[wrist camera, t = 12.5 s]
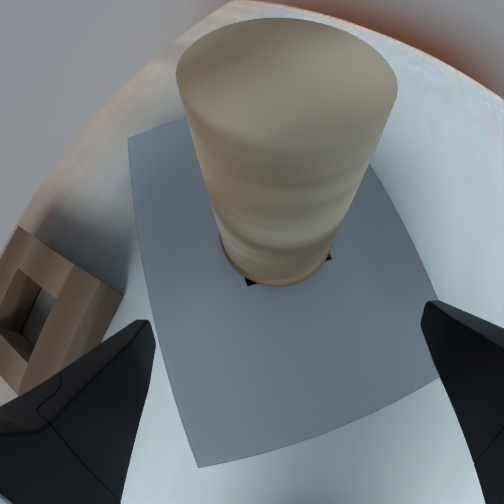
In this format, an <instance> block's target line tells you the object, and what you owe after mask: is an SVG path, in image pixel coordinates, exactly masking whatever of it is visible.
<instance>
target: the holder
mask: <svg viewBox="0 0 504 504" xmlns="http://www.w3.org/2000/svg"><path fill="white" fill-rule="evenodd" d="M41 287H42V288H43V289H44V290H45V291H46V292H48V293H49V294H50V295H51V296H53V297H54V298H55V299H56V300H55V303H54V305H53V307H52V309H51V311H50V313H49V315H48V317H47V319H46V322H45V324H44V326H43V328H42V331H41V333H40V335H39V338H38V340H37V342H36V345H35V347H33V346H32V345H31V344H30V343H29V342H28V341H27V340H26V339H25V338H24V337H23V336H22V335H21V334H20V332H21V329H22V327H23V325H24V322H25V320H26V318H27V316H28V313H29V311H30V309H31V307H32V304H33V302H34V300H35V298H36V296H37V294H38V292H39V290H40V288H41ZM123 297H124V295H122V294H120V293H119V292H117V291H116V290H114V289H113V288H111V287H109V286H108V285H106V284H105V283H103V282H102V281H100V280H98V279H97V278H95V277H94V276H92V275H90V274H89V273H87V272H86V271H84V270H82V269H81V268H79V267H78V266H76V265H75V264H73V263H71V262H70V261H68V260H67V259H65V258H64V257H62V256H61V255H59V254H58V253H56V252H55V251H53V250H52V249H50V248H49V247H48V246H46V245H45V244H43V243H42V242H40V241H39V240H38V239H36V238H35V237H33V236H32V235H31V234H29V233H28V232H26V231H25V230H24V229H22V228H21V227H20V226H18V228H17V230H16V231H15V233H14V235H13V237H12V239H11V240H10V242H9V244H8V246H7V248H6V250H5V252H4V254H3V256H2V258H1V260H0V375H1V377H2V378H3V379H4V380H5V381H6V382H7V383H8V385H9V386H10V387H11V388H12V389H13V390H14V391H15V392H16V393H17V394H18V395H19V396H20V395H22V394H24V393H25V392H27V391H29V390H31V389H32V388H34V387H36V386H38V385H39V384H41V383H42V382H44V381H46V380H47V379H49V378H50V377H52V376H53V375H55V374H56V373H58V372H59V371H61V370H62V369H64V368H65V367H67V366H68V365H69V364H71V363H72V362H74V361H75V360H77V359H78V358H80V357H81V356H83V355H84V354H86V353H87V352H89V351H90V350H92V349H93V348H95V347H96V346H98V345H99V344H100V342H101V340H102V338H103V336H104V334H105V332H106V330H107V328H108V326H109V324H110V322H111V320H112V318H113V316H114V314H115V312H116V310H117V308H118V306H119V304H120V302H121V300H122V298H123Z"/></svg>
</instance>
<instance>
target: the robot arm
mask: <svg viewBox="0 0 504 504" xmlns="http://www.w3.org/2000/svg"><path fill="white" fill-rule="evenodd" d="M420 325H421V330H422V332H423V335H424V338H425V341H426V343H427V346H428V349H429V352H430V354H431V357H432V360H433V363H434V365H435V367H436V370H437V372H438V374H439V376H440V378H441V381H442V383H443V385H444V387H445V390H446V392H447V394H448V397H449V399H450V401H451V404H452V406H453V408H454V411H455V413H456V416H457V418H458V421H459V423H460V426H461V429H462V431H463V434H464V437H465V439H466V442H467V445H468V448H469V451H470V454H471V456H472V459H473V462H474V466H475V469H476V472H477V475H478V479H479V482H480V485H481V489H482V493H483V496H484V500H485V504H504V328H501V327H499V326H497V325H495V324H492V323H490V322H488V321H486V320H483V319H481V318H479V317H476V316H474V315H472V314H469V313H467V312H465V311H463V310H460V309H458V308H456V307H453V306H451V305H448V304H446V303H444V302H441V301H439V300H431V301H427V302H426V304H425V306H424V310H423V314H422V318H421V323H420ZM155 348H156V342H155V338H154V334H153V331H152V327H151V324H150V322H149V321H148V320H135V321H134V322H132V323H131V324H129V325H128V326H126V327H125V328H123V329H122V330H120V331H119V332H117V333H116V334H114V335H113V336H111V337H110V338H108V339H107V340H105V341H104V342H102V343H101V344H99V345H98V346H96V347H95V348H93V349H92V350H90V351H89V352H87V353H86V354H84V355H83V356H81V357H80V358H78V359H77V360H75V361H74V362H72V363H71V364H69V365H68V366H67V367H65V368H64V369H62V370H61V371H59V372H58V373H56V374H55V375H53V376H52V377H50V378H49V379H47V380H46V381H44V382H42V383H41V384H39V385H38V386H36V387H34V388H32V389H31V390H29V391H27V392H25V393H24V394H22V395H20V396H18V397H17V398H15V399H13V400H11V401H9V402H8V403H6V404H4V405H2V406H0V504H121V502H120V501H121V498H122V494H123V489H124V484H125V480H126V475H127V471H128V467H129V462H130V458H131V454H132V450H133V446H134V442H135V438H136V434H137V430H138V426H139V422H140V418H141V415H142V411H143V407H144V404H145V400H146V396H147V393H148V389H149V384H150V378H151V372H152V366H153V360H154V354H155Z"/></svg>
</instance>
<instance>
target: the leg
mask: <svg viewBox="0 0 504 504" xmlns="http://www.w3.org/2000/svg"><path fill="white" fill-rule="evenodd" d="M176 78H177V84H178V88H179V91H180V95H181V99H182V103H183V106H184V110H185V114H186V117H187V121H188V125H189V128H190V132H191V135H192V139H193V143H194V146H195V150H196V153H197V157H198V160H199V164H200V167H201V171H202V174H203V178H204V181H205V185H206V188H207V192H208V195H209V199H210V202H211V205H212V209H213V212H214V216H215V219H216V222H217V226H218V229H219V238H220V242H221V246H222V249H223V252H224V254H225V256H226V258H227V260H228V261H229V263H230V264H231V265H232V267H233V268H234V269H235V270H236V271H237V272H239V273H240V274H241V275H242V276H244V277H246V278H247V279H249V280H251V281H253V282H256V283H259V284H262V285H267V286H288V285H292V284H296V283H298V282H301V281H303V280H305V279H307V278H309V277H310V276H312V275H313V274H314V273H315V272H316V271H317V270H318V269H319V268H320V267H321V266H322V265H323V263H324V262H325V260H326V259H327V257H328V255H329V253H330V250H331V247H332V244H333V240H334V238H335V236H336V234H337V232H338V230H339V228H340V226H341V224H342V222H343V219H344V217H345V215H346V213H347V211H348V209H349V207H350V205H351V202H352V200H353V198H354V196H355V194H356V192H357V189H358V187H359V185H360V183H361V181H362V178H363V176H364V174H365V172H366V169H367V167H368V165H369V162H370V160H371V158H372V156H373V153H374V151H375V148H376V146H377V144H378V141H379V139H380V137H381V134H382V132H383V129H384V127H385V124H386V122H387V119H388V117H389V114H390V112H391V109H392V107H393V104H394V102H395V99H396V96H397V90H398V89H397V80H396V77H395V74H394V72H393V70H392V68H391V67H390V65H389V64H388V63H387V61H386V60H385V59H384V58H383V57H382V56H381V55H380V54H379V53H378V52H377V51H376V50H375V49H374V48H372V47H371V46H370V45H368V44H367V43H365V42H364V41H362V40H361V39H359V38H357V37H355V36H353V35H351V34H349V33H347V32H345V31H343V30H340V29H337V28H335V27H332V26H328V25H325V24H321V23H317V22H313V21H307V20H301V19H291V18H263V19H254V20H248V21H242V22H238V23H234V24H230V25H227V26H224V27H222V28H219V29H217V30H214V31H212V32H210V33H208V34H206V35H205V36H203V37H201V38H200V39H198V40H197V41H196V42H194V43H193V44H192V45H191V46H190V47H189V48H188V49H187V50H186V51H185V52H184V54H183V55H182V57H181V58H180V60H179V63H178V65H177V70H176Z"/></svg>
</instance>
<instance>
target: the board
mask: <svg viewBox="0 0 504 504" xmlns="http://www.w3.org/2000/svg"><path fill="white" fill-rule="evenodd" d="M128 152H129V164H130V175H131V185H132V194H133V202H134V210H135V218H136V225H137V232H138V239H139V245H140V251H141V257H142V263H143V269H144V274H145V280H146V285H147V290H148V295H149V300H150V304H151V309H152V314H153V318H154V323H155V327H156V331H157V335H158V340H159V344H160V348H161V352H162V355H163V359H164V363H165V367H166V370H167V374H168V378H169V381H170V385H171V388H172V392H173V395H174V398H175V402H176V405H177V408H178V411H179V414H180V417H181V421H182V424H183V427H184V430H185V433H186V436H187V438H188V441H189V444H190V447H191V450H192V452H193V455H194V458H195V461H196V463H197V466H198V468H201V467H206V466H211V465H216V464H221V463H226V462H230V461H235V460H239V459H243V458H247V457H251V456H255V455H259V454H262V453H266V452H269V451H273V450H276V449H280V448H283V447H286V446H289V445H292V444H295V443H298V442H301V441H304V440H307V439H310V438H313V437H315V436H318V435H321V434H324V433H326V432H329V431H331V430H334V429H336V428H339V427H341V426H344V425H346V424H348V423H351V422H353V421H355V420H358V419H360V418H362V417H364V416H367V415H369V414H371V413H373V412H375V411H377V410H379V409H382V408H384V407H386V406H388V405H390V404H392V403H394V402H395V401H397V400H399V399H401V398H403V397H405V396H407V395H409V394H411V393H412V392H414V391H416V390H418V389H420V388H421V387H423V386H425V385H427V384H428V383H430V382H432V381H433V380H435V379H437V378H438V377H440V376H439V374H438V372H437V370H436V367H435V365H434V363H433V360H432V357H431V354H430V352H429V349H428V346H427V343H426V341H425V338H424V335H423V332H422V330H421V325H420V323H421V318H422V314H423V310H424V306H425V304H426V302H427V301H431V300H438V299H437V296H436V294H435V291H434V289H433V287H432V284H431V282H430V279H429V277H428V275H427V272H426V270H425V268H424V266H423V263H422V261H421V259H420V257H419V255H418V253H417V251H416V248H415V246H414V244H413V242H412V240H411V238H410V236H409V234H408V232H407V230H406V228H405V226H404V224H403V222H402V220H401V218H400V216H399V214H398V213H397V211H396V209H395V207H394V205H393V203H392V202H391V200H390V198H389V196H388V194H387V193H386V191H385V189H384V187H383V186H382V184H381V182H380V180H379V179H378V177H377V175H376V174H375V172H374V170H373V169H372V167H371V165H370V164H369V165H368V167H367V169H366V172H365V174H364V176H363V178H362V181H361V183H360V185H359V187H358V189H357V192H356V194H355V196H354V198H353V200H352V202H351V205H350V207H349V209H348V211H347V213H346V215H345V217H344V219H343V222H342V224H341V226H340V228H339V230H338V232H337V234H336V236H335V238H334V240H333V244H332V247H331V250H330V253H329V255H328V257H327V259H326V260H325V262H324V263H323V265H322V266H321V267H320V268H319V269H318V270H317V271H316V272H315V273H314V274H313V275H312V276H310V277H309V278H307V279H305V280H303V281H301V282H298V283H296V284H292V285H288V286H267V285H262V284H259V283H257V284H254V285H251V286H248V287H247V284H246V281H245V278H244V276H242V275H241V274H240V273H239V272H237V271H236V270H235V269H234V268H233V267H232V265H231V264H230V263H229V261H228V260H227V258H226V256H225V254H224V252H223V249H222V246H221V242H220V238H219V229H218V226H217V222H216V219H215V216H214V212H213V209H212V205H211V202H210V199H209V195H208V192H207V188H206V185H205V181H204V178H203V174H202V171H201V167H200V164H199V160H198V157H197V153H196V150H195V146H194V143H193V139H192V135H191V132H190V128H189V125H188V121H187V119H184V120H180V121H177V122H174V123H170V124H167V125H164V126H161V127H158V128H155V129H152V130H149V131H146V132H143V133H140V134H138V135H135V136H132V137H129V138H128Z"/></svg>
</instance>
